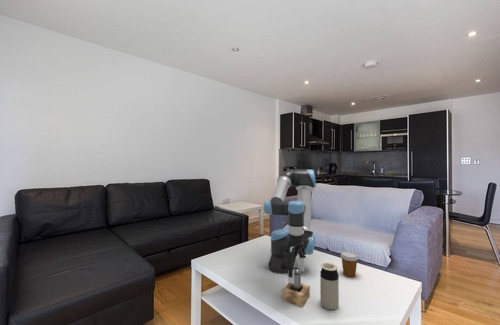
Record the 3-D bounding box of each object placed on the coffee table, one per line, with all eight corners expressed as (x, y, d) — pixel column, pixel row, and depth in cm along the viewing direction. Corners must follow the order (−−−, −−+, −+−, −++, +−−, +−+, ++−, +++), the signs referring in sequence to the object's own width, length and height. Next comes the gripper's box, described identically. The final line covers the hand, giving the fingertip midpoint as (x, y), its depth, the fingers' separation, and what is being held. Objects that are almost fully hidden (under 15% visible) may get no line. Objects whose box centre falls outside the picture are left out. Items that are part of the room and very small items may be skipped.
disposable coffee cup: (360, 279, 129) (360, 258, 129) (342, 277, 131) (342, 256, 131) (356, 271, 139) (355, 251, 139) (339, 270, 141) (339, 250, 140)
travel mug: (323, 310, 103) (323, 270, 103) (318, 299, 111) (318, 262, 111) (341, 310, 103) (341, 270, 103) (334, 299, 111) (334, 262, 111)
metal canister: (291, 298, 112) (290, 270, 112) (294, 294, 115) (294, 266, 115) (299, 301, 110) (299, 272, 109) (302, 297, 113) (302, 268, 113)
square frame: (282, 299, 111) (282, 289, 111) (290, 290, 119) (290, 280, 119) (302, 306, 105) (302, 296, 105) (309, 295, 114) (309, 285, 114)
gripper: (294, 243, 100) (294, 291, 100) (311, 227, 121) (311, 267, 121) (278, 240, 104) (278, 286, 104) (297, 225, 125) (298, 264, 125)
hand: (296, 276), depth 113 cm, fingers open, 13 cm apart
